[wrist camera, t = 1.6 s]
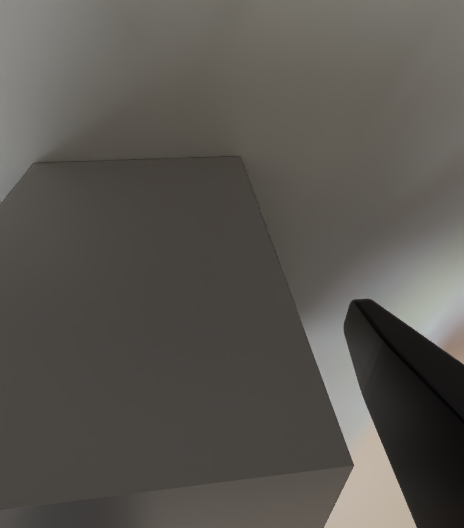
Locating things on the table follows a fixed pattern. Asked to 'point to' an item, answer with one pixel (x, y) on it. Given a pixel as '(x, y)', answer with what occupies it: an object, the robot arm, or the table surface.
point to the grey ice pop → (155, 356)
